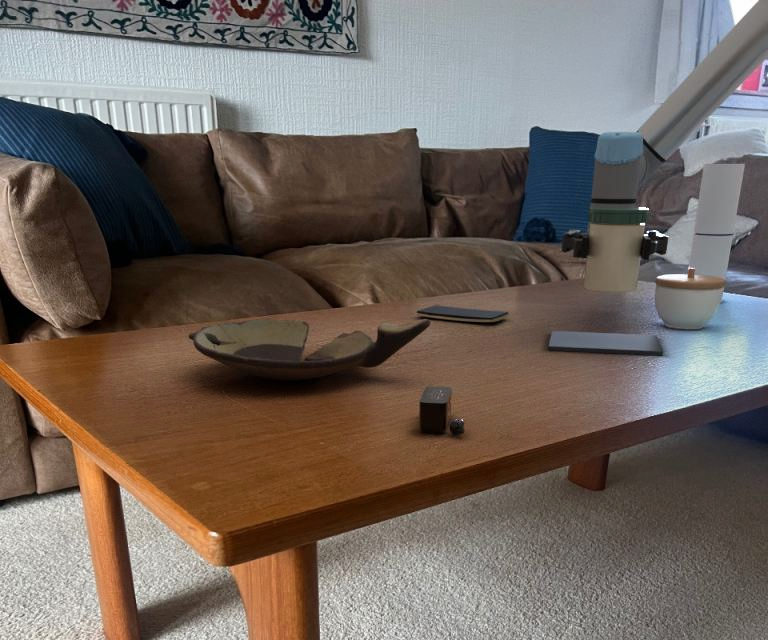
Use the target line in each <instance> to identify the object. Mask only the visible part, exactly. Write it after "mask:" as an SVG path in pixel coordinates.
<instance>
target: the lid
mask: <svg viewBox="0 0 768 640" xmlns="http://www.w3.org/2000/svg"><path fill="white" fill-rule="evenodd" d="M649 210H650V209H649V208H648V207H647V208H646V207H635V208H634V207H593V208H590V207H589V209H588V214H587V223H589V222H593V223H607V224H641V223H643V224H648V222H649V216H650V213H649Z"/></svg>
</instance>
